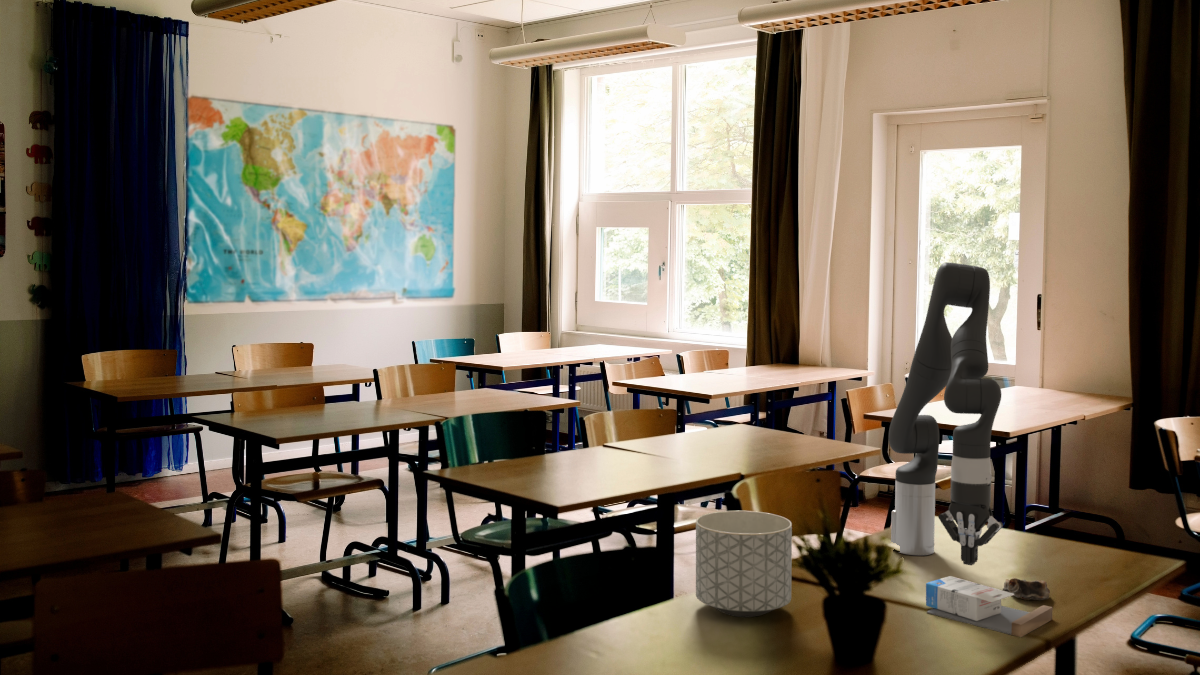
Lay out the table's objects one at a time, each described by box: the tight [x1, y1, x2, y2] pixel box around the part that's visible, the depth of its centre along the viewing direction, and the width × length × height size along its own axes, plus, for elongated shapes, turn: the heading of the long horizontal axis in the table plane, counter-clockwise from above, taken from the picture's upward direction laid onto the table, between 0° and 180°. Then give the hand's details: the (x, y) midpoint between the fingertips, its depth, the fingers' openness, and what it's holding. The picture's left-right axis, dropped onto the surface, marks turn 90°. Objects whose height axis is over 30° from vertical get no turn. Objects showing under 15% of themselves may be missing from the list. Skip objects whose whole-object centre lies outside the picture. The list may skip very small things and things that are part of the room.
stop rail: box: [1010, 604, 1054, 638], centre depth 193 cm, size 2×14×2 cm, turn 134°
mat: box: [926, 605, 1031, 636], centre depth 200 cm, size 17×14×1 cm
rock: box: [1002, 577, 1051, 601], centre depth 211 cm, size 9×6×10 cm
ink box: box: [925, 575, 1014, 621], centre depth 200 cm, size 8×5×15 cm
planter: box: [695, 510, 793, 618], centre depth 202 cm, size 19×19×18 cm
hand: (969, 564), depth 201 cm, fingers closed
